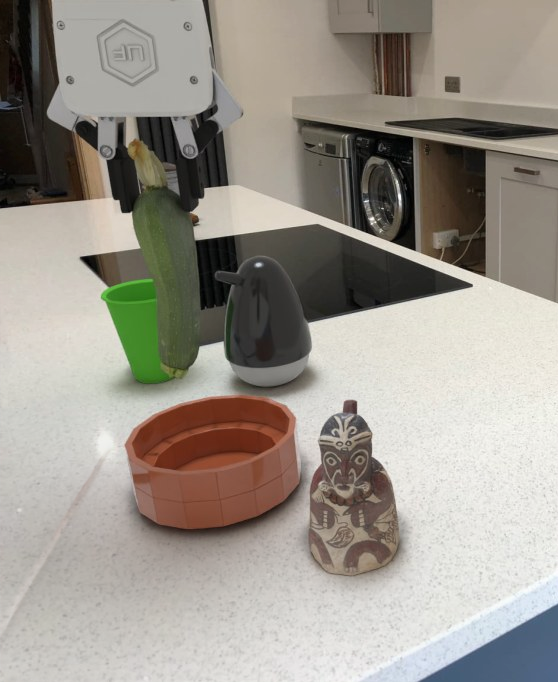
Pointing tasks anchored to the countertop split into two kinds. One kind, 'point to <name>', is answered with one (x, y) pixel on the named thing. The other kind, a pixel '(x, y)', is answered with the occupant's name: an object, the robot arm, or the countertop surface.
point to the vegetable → (168, 262)
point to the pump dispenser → (264, 324)
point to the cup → (137, 327)
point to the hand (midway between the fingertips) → (161, 206)
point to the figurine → (351, 499)
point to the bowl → (214, 461)
